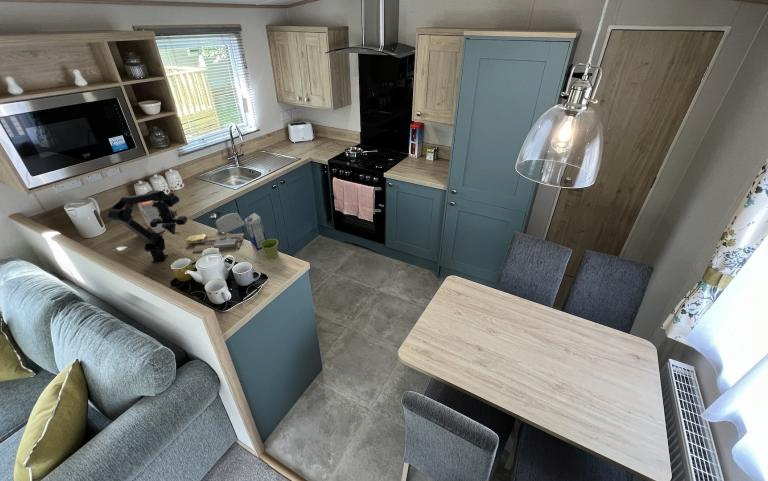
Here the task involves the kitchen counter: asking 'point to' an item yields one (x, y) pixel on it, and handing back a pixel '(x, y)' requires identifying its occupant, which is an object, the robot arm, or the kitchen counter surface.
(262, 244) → the plant pot
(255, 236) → the milk carton
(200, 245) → the hinge bed
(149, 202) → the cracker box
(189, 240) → the brass leaf
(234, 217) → the grey rounded flat block
